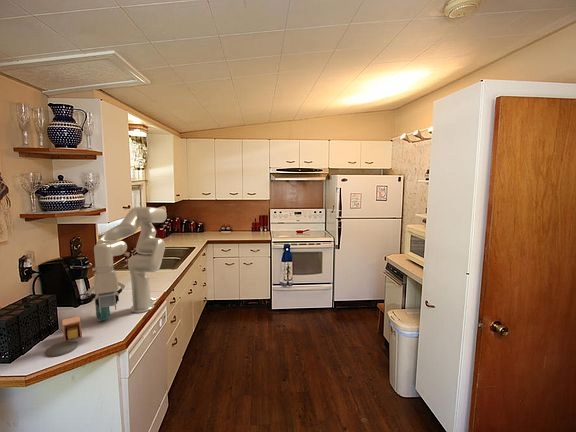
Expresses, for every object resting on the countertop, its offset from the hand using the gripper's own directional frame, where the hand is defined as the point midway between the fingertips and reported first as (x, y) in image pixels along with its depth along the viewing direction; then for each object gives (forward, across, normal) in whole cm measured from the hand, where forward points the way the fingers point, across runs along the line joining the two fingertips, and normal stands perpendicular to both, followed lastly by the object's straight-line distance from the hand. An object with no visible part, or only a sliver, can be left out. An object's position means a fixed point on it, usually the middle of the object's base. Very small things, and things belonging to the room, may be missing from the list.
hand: (107, 304), depth 155 cm
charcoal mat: (+14, -19, -7) cm, 25 cm away
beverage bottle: (+14, -3, +16) cm, 22 cm away
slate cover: (+2, 0, 0) cm, 2 cm away
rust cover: (+14, -16, +5) cm, 22 cm away
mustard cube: (+14, -16, +5) cm, 22 cm away
